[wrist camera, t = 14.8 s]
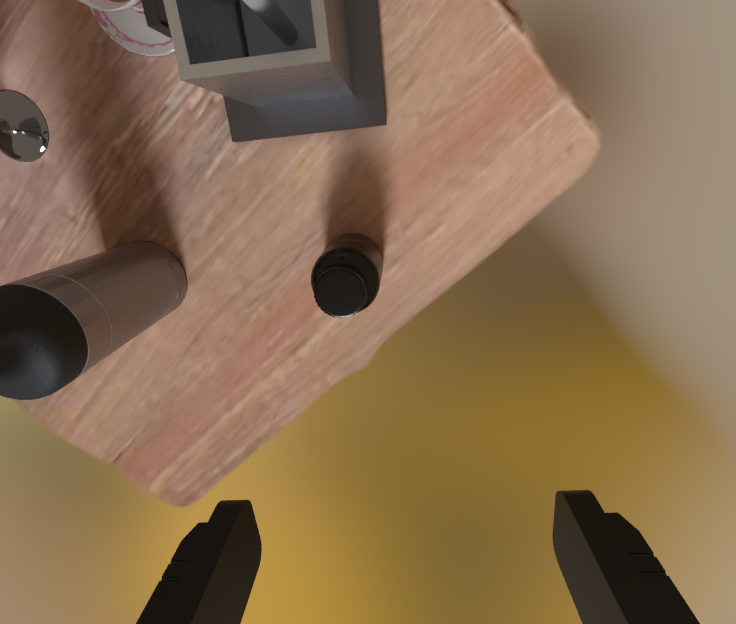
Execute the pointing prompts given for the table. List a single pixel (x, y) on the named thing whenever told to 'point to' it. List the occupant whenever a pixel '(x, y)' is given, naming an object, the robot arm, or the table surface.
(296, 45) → the screwdriver
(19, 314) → the robot arm
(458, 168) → the table surface
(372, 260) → the supplement bottle
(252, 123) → the square planter box
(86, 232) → the table surface
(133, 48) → the teacup
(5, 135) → the wine glass
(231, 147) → the table surface
